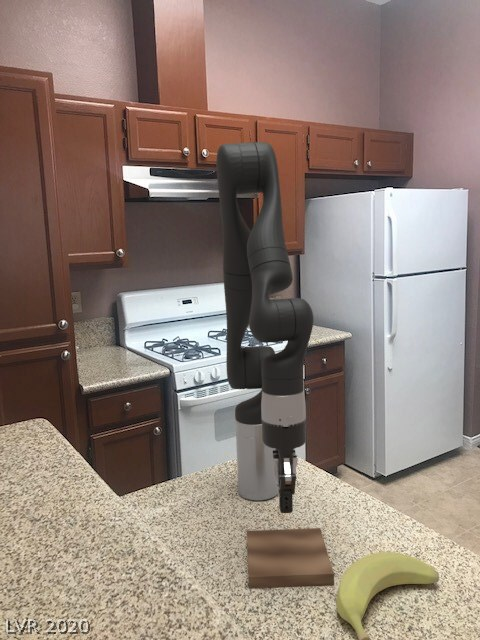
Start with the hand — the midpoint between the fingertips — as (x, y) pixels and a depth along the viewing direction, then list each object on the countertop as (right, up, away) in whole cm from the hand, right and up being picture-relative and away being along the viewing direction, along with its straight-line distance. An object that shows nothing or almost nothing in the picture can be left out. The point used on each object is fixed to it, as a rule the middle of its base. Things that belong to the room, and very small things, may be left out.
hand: (286, 511), depth 92 cm
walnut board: (0, -9, +1) cm, 10 cm away
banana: (+19, -6, -3) cm, 20 cm away
